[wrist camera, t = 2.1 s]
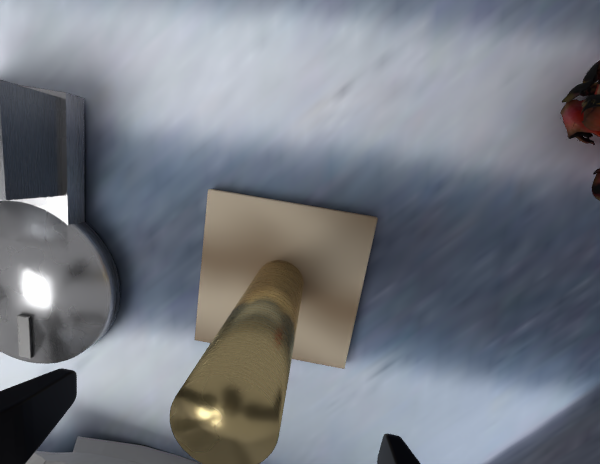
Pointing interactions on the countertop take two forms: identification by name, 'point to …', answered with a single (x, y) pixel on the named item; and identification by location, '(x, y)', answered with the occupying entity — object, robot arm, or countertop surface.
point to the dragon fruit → (585, 114)
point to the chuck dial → (48, 232)
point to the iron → (107, 454)
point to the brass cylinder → (243, 375)
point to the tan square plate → (291, 248)
